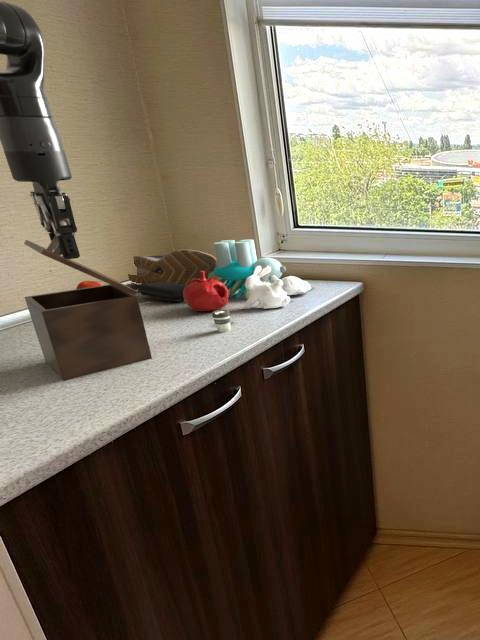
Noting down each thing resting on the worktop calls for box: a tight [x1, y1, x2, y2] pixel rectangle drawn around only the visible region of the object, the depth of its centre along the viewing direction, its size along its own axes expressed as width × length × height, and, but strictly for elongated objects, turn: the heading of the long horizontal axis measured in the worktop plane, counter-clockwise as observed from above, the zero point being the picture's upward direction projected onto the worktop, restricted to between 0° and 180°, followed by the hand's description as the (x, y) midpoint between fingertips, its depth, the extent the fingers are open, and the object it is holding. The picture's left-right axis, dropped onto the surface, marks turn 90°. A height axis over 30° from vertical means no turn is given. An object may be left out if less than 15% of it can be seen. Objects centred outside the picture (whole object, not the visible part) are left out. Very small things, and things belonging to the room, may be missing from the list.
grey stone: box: [280, 275, 312, 296], centre depth 138 cm, size 9×8×5 cm
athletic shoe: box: [127, 248, 218, 285], centre depth 149 cm, size 11×28×12 cm
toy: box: [208, 238, 287, 301], centre depth 137 cm, size 12×22×15 cm, turn 95°
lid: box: [23, 235, 138, 296], centre depth 90 cm, size 14×13×5 cm
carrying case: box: [136, 282, 187, 302], centre depth 136 cm, size 11×3×15 cm
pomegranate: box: [183, 271, 229, 312], centre depth 125 cm, size 10×10×9 cm
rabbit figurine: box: [238, 266, 291, 310], centre depth 127 cm, size 12×8×10 cm, turn 90°
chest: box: [24, 284, 153, 382], centre depth 93 cm, size 14×13×13 cm
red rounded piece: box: [75, 280, 102, 289], centre depth 123 cm, size 6×6×8 cm
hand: (67, 255), depth 88 cm, fingers closed on lid, 5 cm apart
